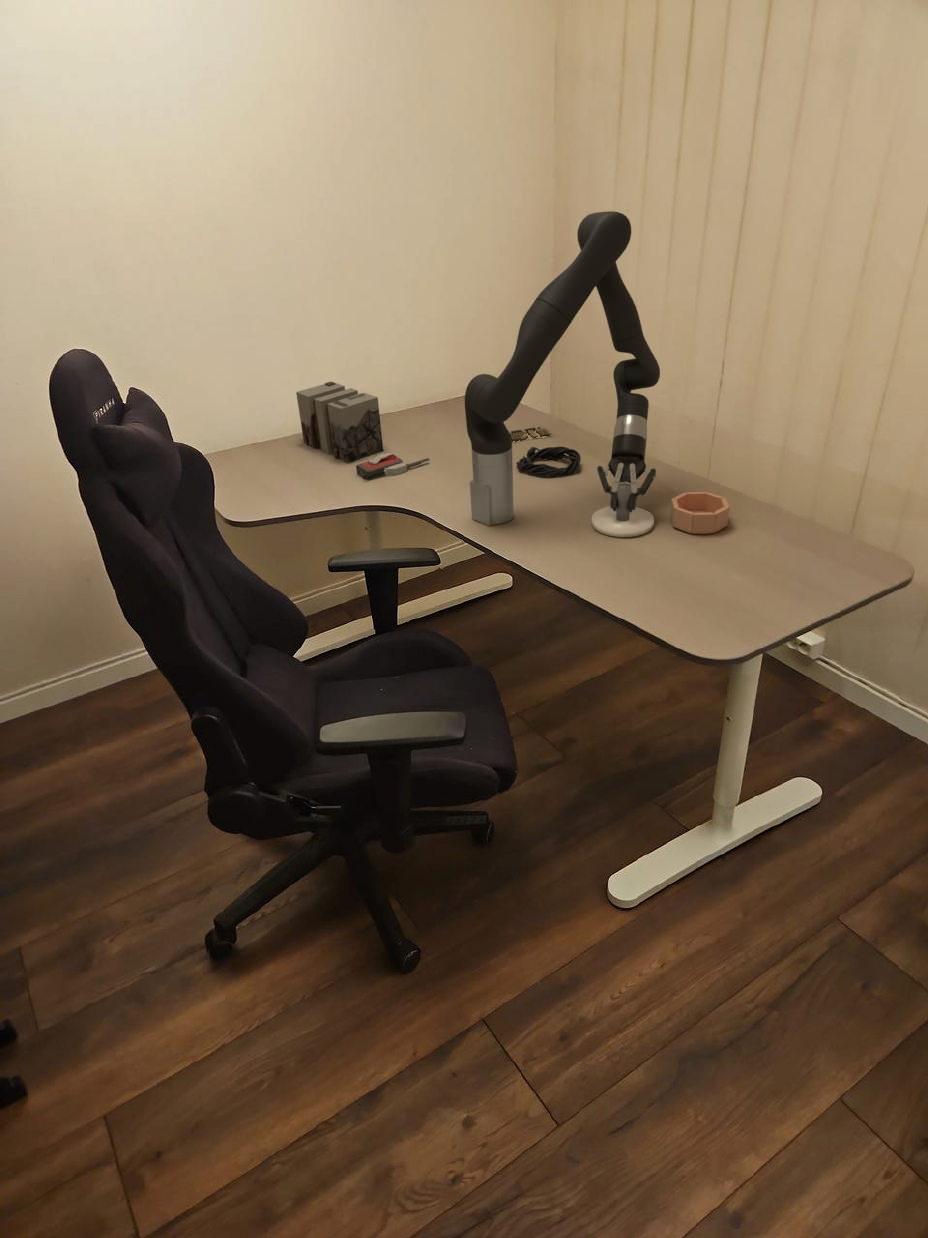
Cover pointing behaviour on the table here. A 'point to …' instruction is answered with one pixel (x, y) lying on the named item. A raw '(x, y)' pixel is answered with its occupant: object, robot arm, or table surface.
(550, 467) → the cable
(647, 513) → the lid
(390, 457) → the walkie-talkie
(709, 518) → the bowl
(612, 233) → the robot arm
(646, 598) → the table surface
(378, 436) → the bookend
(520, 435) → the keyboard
